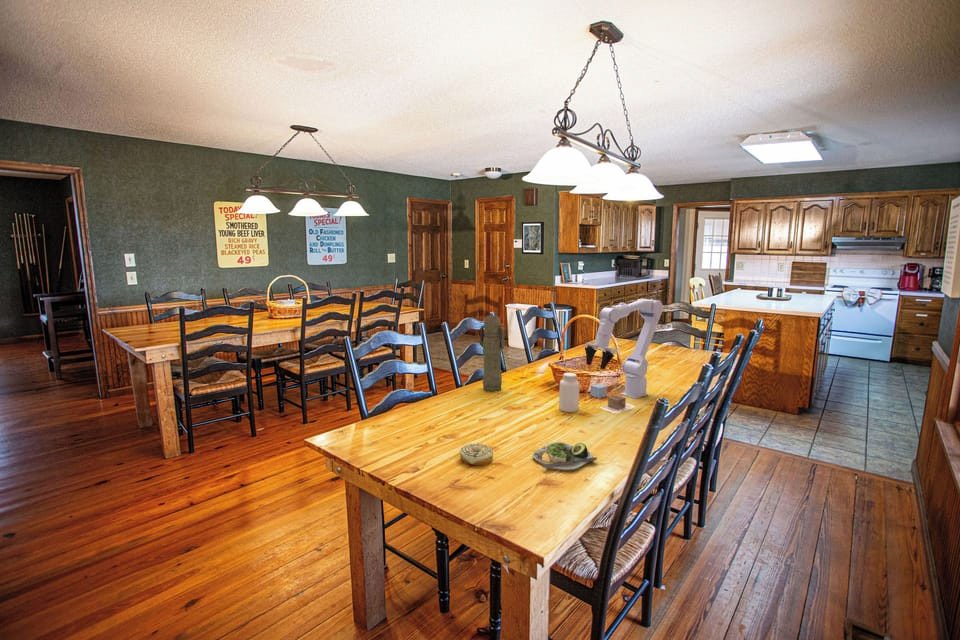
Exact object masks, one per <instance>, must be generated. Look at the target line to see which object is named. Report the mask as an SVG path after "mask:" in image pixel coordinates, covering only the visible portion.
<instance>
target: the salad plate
mask: <svg viewBox="0 0 960 640" xmlns="http://www.w3.org/2000/svg"><path fill="white" fill-rule="evenodd" d="M545 452H547V453H548V458H549V461H550V462H548V460H544V459H543V457H542V455H543V454H544V453H545ZM545 454H546V453H545ZM545 454H544V455H545ZM544 455H543V456H544ZM532 457H533V459H534V460H535V461H536V462H539V463H538V464H540V465H542V468H543V469H550V470H551V469H552V470H555V469H556V470H557V471H575V470H577V469H579V468H582V467H584V466H585V465H587V464H590V463H591V462H594V461H596V460H598V457H593V454H592V453H591V452H590V451H588V448H587V446H586V444H585V443H582V442H578V443H575V444H574V445H572V444H570V443H568V442H567V443H566V442H563V441H562V442H559V441H557V442H554V441H553V442H550V443H548V444H546V445H544V446H542V447H540V448H538V449H536V450H535V451H532ZM542 459H543V460H542Z"/></svg>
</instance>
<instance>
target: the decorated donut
mask: <svg viewBox="0 0 960 640" xmlns="http://www.w3.org/2000/svg"><path fill="white" fill-rule="evenodd" d="M459 456H460V459H461V460H462V461H463V462H464V463H465V462H466V463H465V464H467V465H472V464H473V465H474V466H475V465H477V466H485V464H486V465H488V464H489V463H491V461H493V457H494V452H493V449H492V448H491V447H490V446H489V445H486V444H483V443H469V444H465V445H463V446H462V447H460V449H459ZM473 465H472V466H473Z"/></svg>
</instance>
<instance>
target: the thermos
mask: <svg viewBox="0 0 960 640" xmlns="http://www.w3.org/2000/svg"><path fill="white" fill-rule="evenodd" d="M479 335H480V339H479V340H480V343H479V344H480V347H482V355H483V374H482V386H483V387H482V390H483V391H484V390H485V392H487V391H490V392H489V393H496V392H495V391H497V392H501V390H502V384H503V382H502V380H503V379H502V377H503V375H502V372H501V371H502V369H501V367H502V366H501V361H502V359H501V357H502V356H501V355H502V350H504V349H505V328H504V326H502V325H501V320H500V317H499V316H498V315H497V314H496V315H495V314H488V315H486V316H485V318H484V320H483V325H481V326H480V327H479Z"/></svg>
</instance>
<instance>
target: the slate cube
mask: <svg viewBox="0 0 960 640" xmlns="http://www.w3.org/2000/svg"><path fill="white" fill-rule="evenodd" d="M607 390H608V386H607V385H604V384H601V383H596V385H595V384H591V385H590V395H592V396H591V397H593V396H594V397H593V398H596V397H597V398H596V399H601V398H602V397H603V398H606V397H607V395H608V392H607ZM590 395H589V396H590Z"/></svg>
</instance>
